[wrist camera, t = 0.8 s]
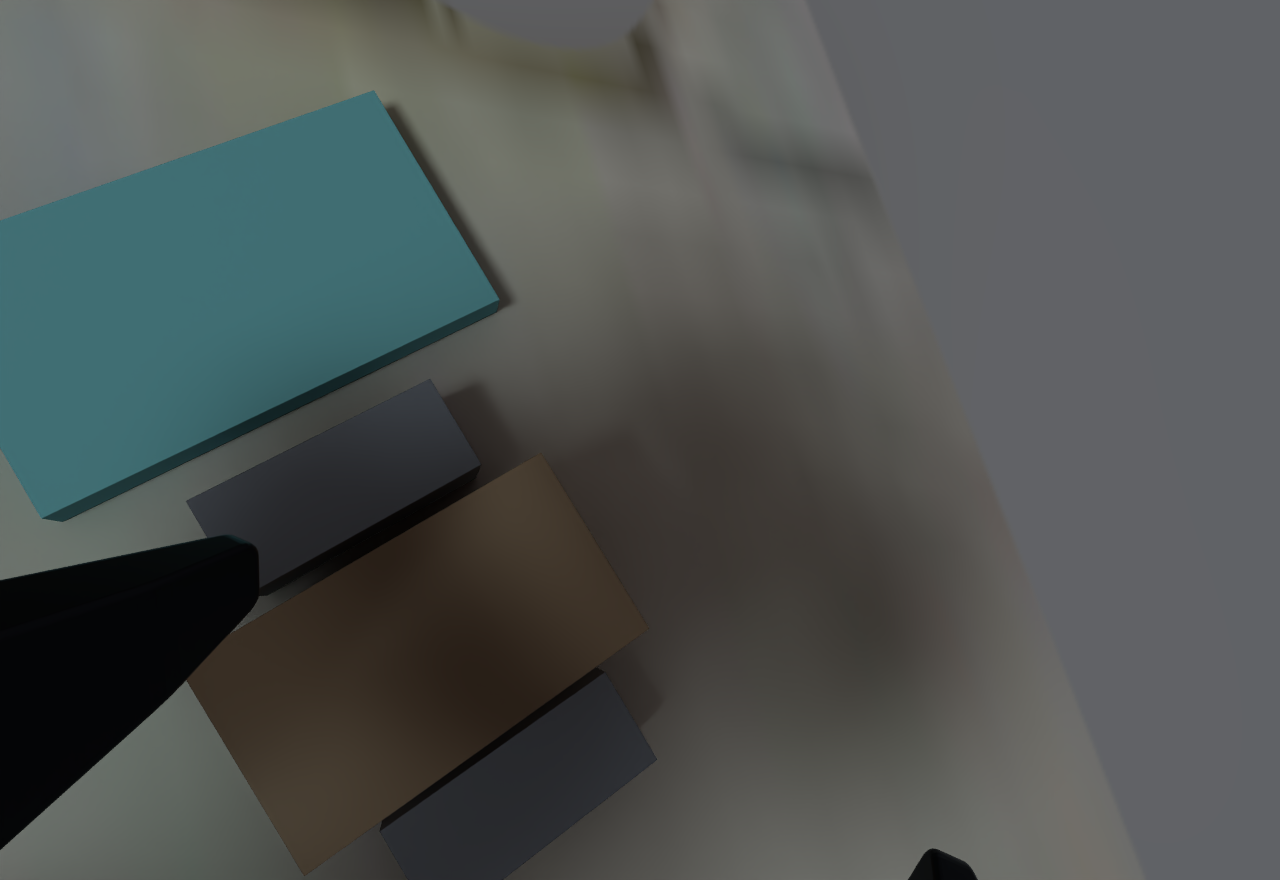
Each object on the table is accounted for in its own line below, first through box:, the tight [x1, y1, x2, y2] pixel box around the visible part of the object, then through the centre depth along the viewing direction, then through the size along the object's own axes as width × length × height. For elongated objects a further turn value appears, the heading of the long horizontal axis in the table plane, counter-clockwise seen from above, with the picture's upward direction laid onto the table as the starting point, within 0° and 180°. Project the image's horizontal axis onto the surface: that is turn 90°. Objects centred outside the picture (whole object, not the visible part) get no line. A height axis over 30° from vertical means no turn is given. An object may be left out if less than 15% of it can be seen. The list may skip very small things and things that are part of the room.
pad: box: [0, 91, 499, 522], centre depth 19 cm, size 12×7×1 cm, turn 122°
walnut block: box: [187, 453, 649, 876], centre depth 17 cm, size 8×5×5 cm, turn 123°
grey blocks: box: [186, 379, 657, 880], centre depth 18 cm, size 6×11×2 cm, turn 32°
